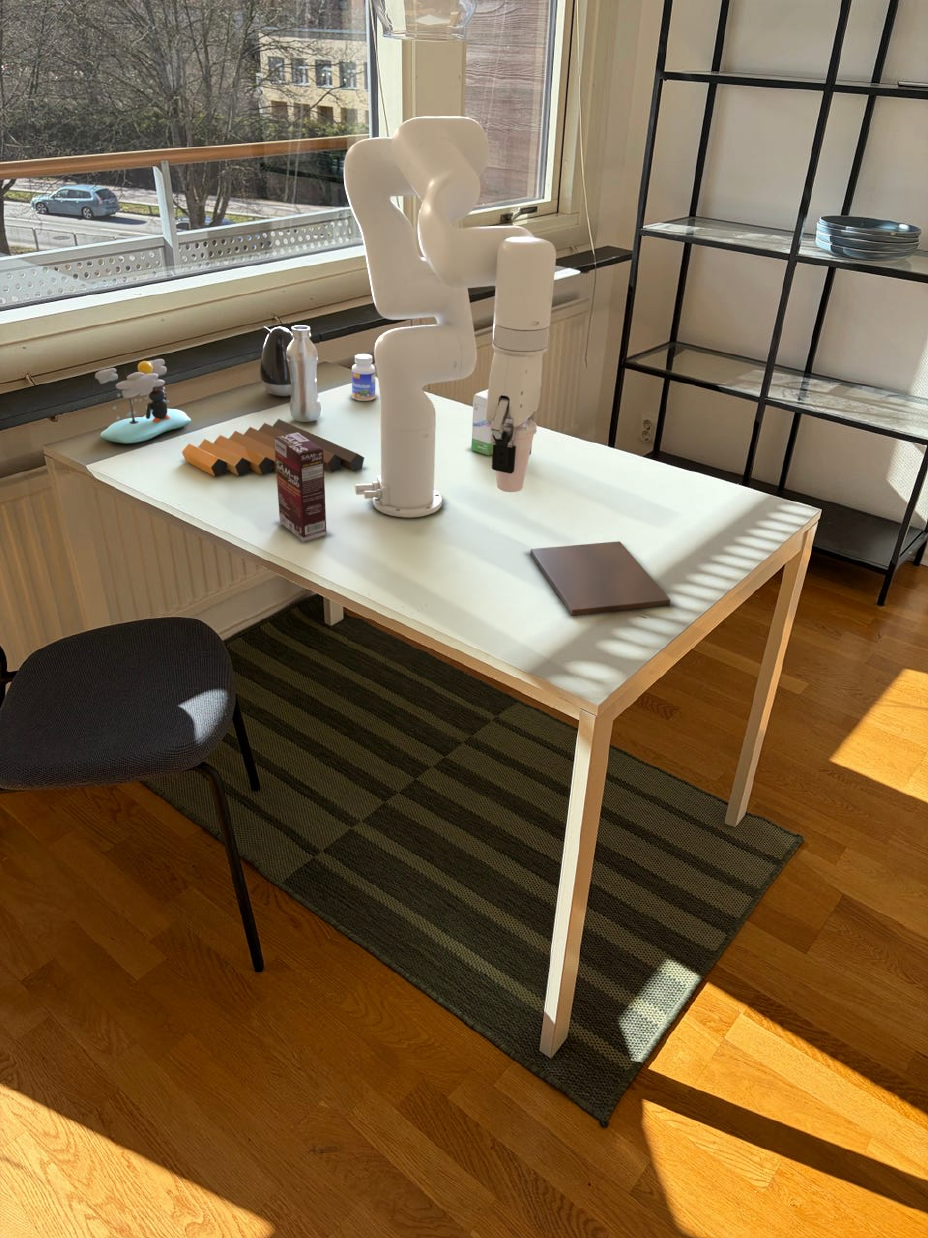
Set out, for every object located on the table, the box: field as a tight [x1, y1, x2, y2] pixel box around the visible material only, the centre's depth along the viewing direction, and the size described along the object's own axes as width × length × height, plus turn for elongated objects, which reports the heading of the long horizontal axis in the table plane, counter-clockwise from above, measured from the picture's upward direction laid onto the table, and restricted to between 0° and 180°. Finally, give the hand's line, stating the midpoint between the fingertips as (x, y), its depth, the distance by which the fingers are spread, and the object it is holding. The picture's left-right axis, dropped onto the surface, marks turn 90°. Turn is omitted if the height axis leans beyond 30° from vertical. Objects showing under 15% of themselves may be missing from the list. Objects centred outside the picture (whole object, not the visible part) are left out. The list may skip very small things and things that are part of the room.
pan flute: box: [181, 418, 365, 477], centre depth 186 cm, size 25×3×25 cm
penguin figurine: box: [94, 358, 193, 444], centre depth 195 cm, size 20×11×15 cm, turn 144°
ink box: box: [470, 389, 493, 456], centre depth 196 cm, size 8×5×12 cm, turn 141°
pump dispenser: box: [259, 326, 293, 397], centre depth 220 cm, size 10×10×15 cm
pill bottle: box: [351, 353, 376, 402], centre depth 220 cm, size 5×5×10 cm
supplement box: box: [274, 432, 328, 543], centre depth 159 cm, size 9×5×16 cm, turn 37°
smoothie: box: [492, 419, 538, 493], centre depth 136 cm, size 6×6×14 cm
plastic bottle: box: [286, 325, 322, 423], centre depth 204 cm, size 6×7×20 cm
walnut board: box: [529, 540, 671, 616], centre depth 153 cm, size 16×20×1 cm
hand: (511, 461), depth 137 cm, fingers closed on smoothie, 6 cm apart
